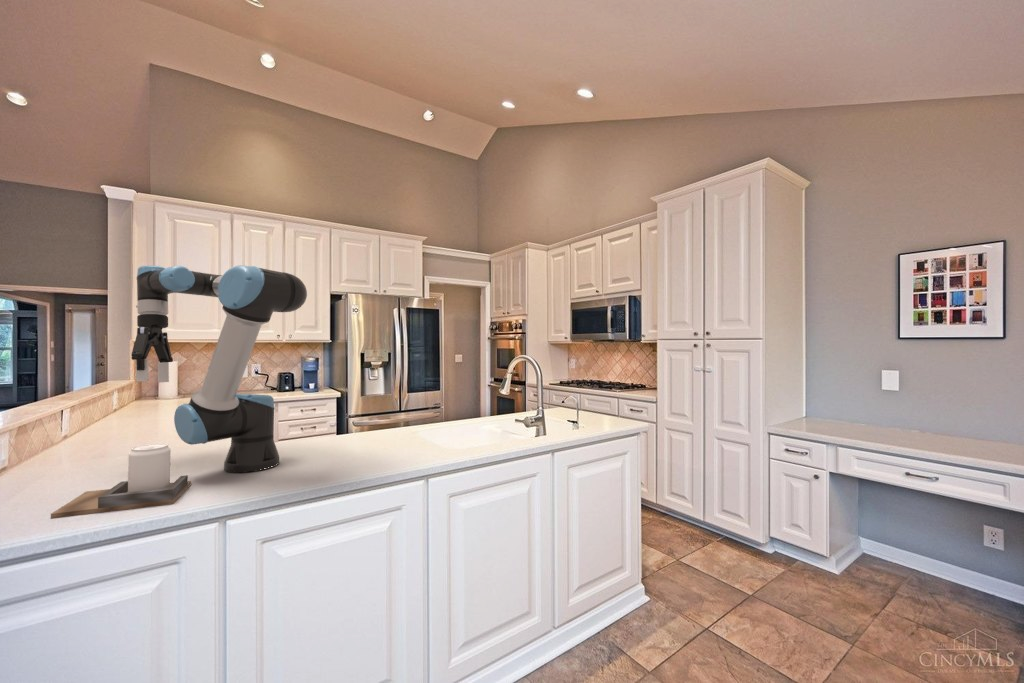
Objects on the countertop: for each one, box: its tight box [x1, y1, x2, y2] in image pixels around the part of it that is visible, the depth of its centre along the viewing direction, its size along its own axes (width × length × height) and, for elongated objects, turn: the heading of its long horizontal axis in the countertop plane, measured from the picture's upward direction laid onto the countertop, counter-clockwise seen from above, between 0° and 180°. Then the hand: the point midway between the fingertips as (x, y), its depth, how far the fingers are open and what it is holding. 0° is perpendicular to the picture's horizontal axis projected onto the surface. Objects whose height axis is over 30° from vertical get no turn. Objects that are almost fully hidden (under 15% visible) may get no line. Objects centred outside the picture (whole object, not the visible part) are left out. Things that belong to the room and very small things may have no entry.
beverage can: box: [127, 442, 171, 492], centre depth 108 cm, size 8×8×12 cm
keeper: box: [50, 474, 192, 519], centre depth 107 cm, size 22×16×4 cm
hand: (153, 382), depth 134 cm, fingers open, 13 cm apart
